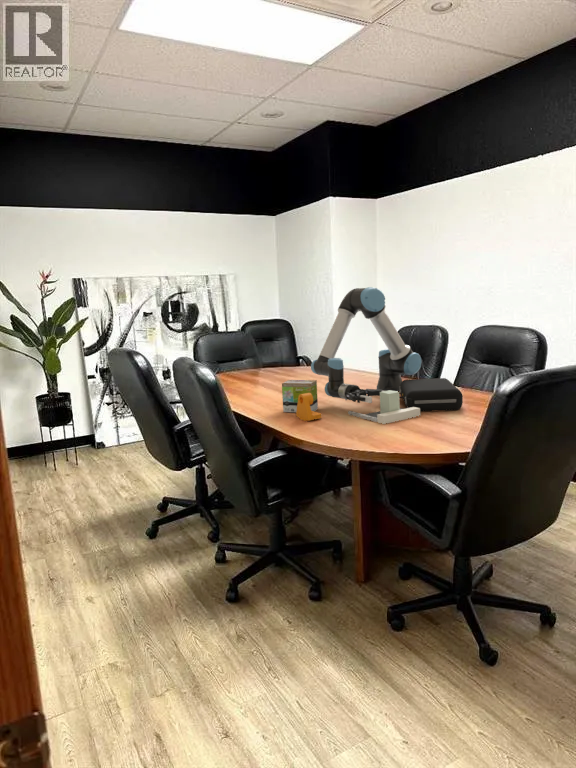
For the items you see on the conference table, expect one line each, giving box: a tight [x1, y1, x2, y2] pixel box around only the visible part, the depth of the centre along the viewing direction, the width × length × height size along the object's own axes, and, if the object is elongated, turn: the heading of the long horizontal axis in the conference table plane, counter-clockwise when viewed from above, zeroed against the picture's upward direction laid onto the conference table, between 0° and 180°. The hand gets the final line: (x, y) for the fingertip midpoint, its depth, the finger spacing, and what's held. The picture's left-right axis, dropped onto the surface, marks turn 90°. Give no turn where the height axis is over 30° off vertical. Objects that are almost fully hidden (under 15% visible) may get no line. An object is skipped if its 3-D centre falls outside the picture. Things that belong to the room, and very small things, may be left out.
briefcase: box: [399, 377, 464, 412], centre depth 264 cm, size 36×32×10 cm
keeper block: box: [379, 390, 401, 414], centre depth 241 cm, size 6×6×11 cm
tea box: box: [281, 379, 319, 413], centre depth 264 cm, size 15×10×15 cm
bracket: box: [295, 393, 322, 422], centre depth 247 cm, size 11×7×12 cm, turn 29°
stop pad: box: [365, 411, 380, 418], centre depth 245 cm, size 16×15×1 cm
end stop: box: [376, 407, 421, 425], centre depth 237 cm, size 21×4×4 cm, turn 121°
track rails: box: [347, 407, 403, 423], centre depth 247 cm, size 21×21×2 cm
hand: (382, 397), depth 244 cm, fingers open, 13 cm apart
